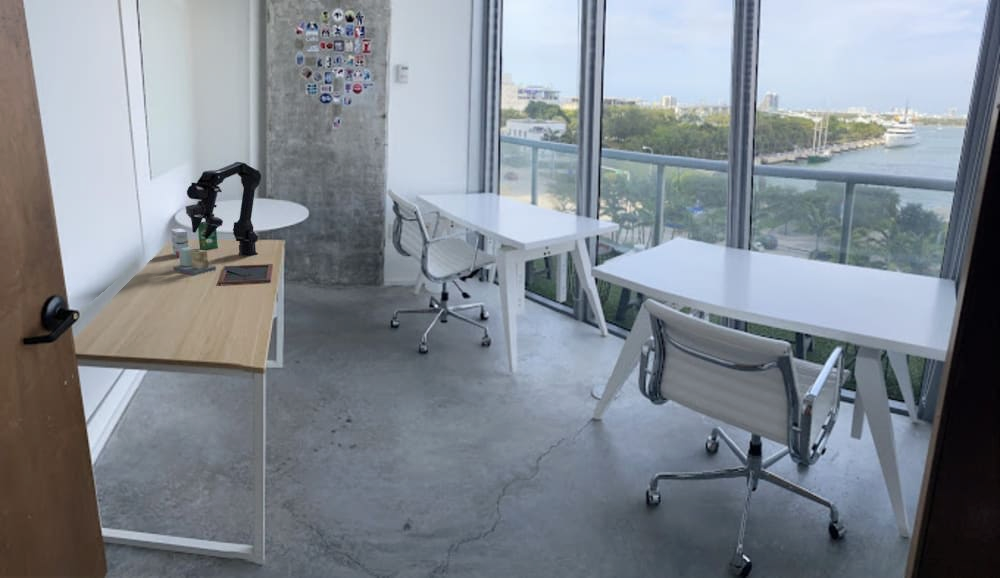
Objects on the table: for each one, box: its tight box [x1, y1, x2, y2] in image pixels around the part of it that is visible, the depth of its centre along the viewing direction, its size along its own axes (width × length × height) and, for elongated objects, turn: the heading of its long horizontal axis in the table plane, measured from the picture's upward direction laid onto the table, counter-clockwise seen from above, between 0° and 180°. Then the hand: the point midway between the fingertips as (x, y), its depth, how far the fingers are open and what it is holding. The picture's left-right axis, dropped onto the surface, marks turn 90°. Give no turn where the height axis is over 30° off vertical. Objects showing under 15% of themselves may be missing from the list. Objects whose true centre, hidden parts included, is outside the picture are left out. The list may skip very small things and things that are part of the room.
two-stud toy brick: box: [178, 247, 196, 266], centre depth 316 cm, size 4×4×7 cm
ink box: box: [170, 228, 189, 258], centre depth 337 cm, size 8×5×12 cm, turn 39°
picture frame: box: [218, 263, 274, 286], centre depth 309 cm, size 20×2×25 cm
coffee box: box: [197, 220, 219, 250], centre depth 350 cm, size 8×3×13 cm, turn 117°
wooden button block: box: [191, 249, 209, 269], centre depth 312 cm, size 4×4×7 cm
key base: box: [172, 264, 217, 276], centre depth 315 cm, size 10×14×2 cm
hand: (199, 235), depth 317 cm, fingers open, 9 cm apart
